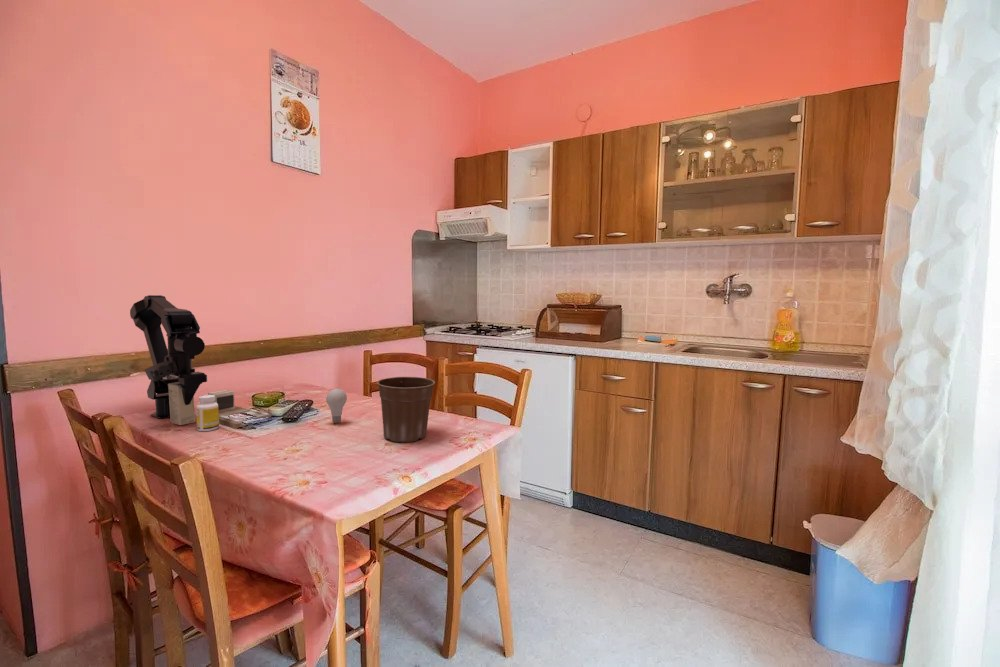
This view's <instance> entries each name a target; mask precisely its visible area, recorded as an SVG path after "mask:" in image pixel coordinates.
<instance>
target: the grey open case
mask: <svg viewBox="0 0 1000 667" xmlns="http://www.w3.org/2000/svg"><path fill="white" fill-rule="evenodd" d="M207 395H215V401H214V402H216V403H217V404H218V412H219V425H223V426H225V425H226V427H228V426H230V427H229V428H232V427H234V428H233V429H235V428H238V427H240V425H241V423H242V422H243V421H247V420H251V419H258V418H266V417H271V416H272V415H271V414H270V413H267V412H263V411H259V410H255V409H252V408H245V407H242V406H241V407H240V406H237V405H235V391H234V390H230V389H225V390H219V391H214V392H212V391H211V392H208V393H207ZM239 413H247V414H251V415H255V416H257V417H253V418H248V419H244V420H240V421H239V420H236V419H232V418H229V417H228V416H230V415H234V414H239ZM196 414H197V412H196Z"/></svg>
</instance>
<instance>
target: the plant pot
mask: <svg viewBox="0 0 1000 667" xmlns="http://www.w3.org/2000/svg"><path fill="white" fill-rule="evenodd" d="M376 384H377V386H378V392H379V393H378V394H379V397H380V403H381V414H382V428H383V429H382V430H383V437H384V439H386V441H387V440H388V441H389V440H390V441H391V442H393V443H403V444H404V443H411V442H412V443H413V442H417V441H418V440H419V438H420V440H423V439H425V438H426V437H427V433H428V432H427V429H428V423H429V414H430V406H431V398H432V397H433V390H434V386H435V385H436V382H435V380H433V379H431V378H427V377H419V376H395V377H387V378H382V379H380V380H378V381H377V382H376ZM425 436H426V437H425ZM424 437H425V438H424Z"/></svg>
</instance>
